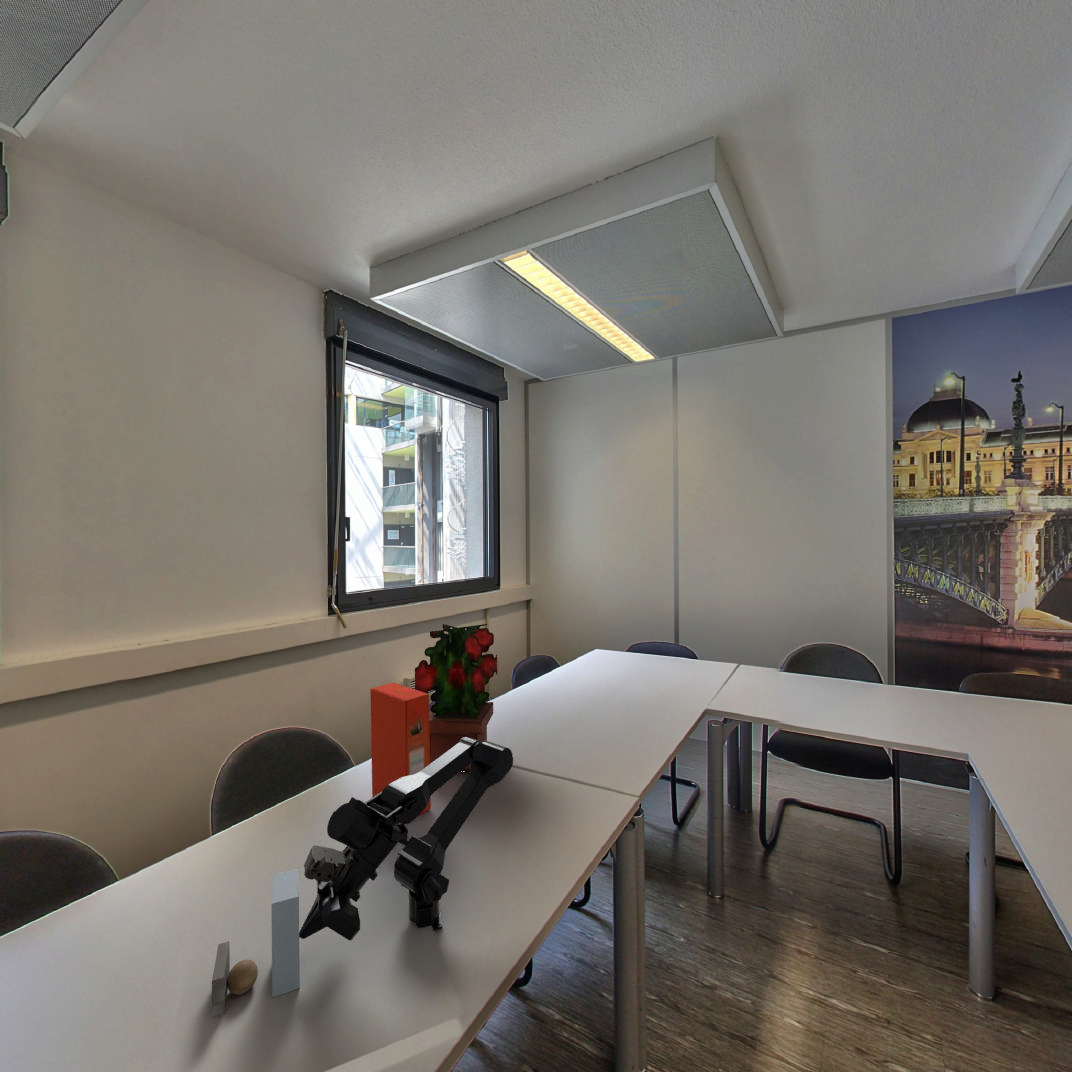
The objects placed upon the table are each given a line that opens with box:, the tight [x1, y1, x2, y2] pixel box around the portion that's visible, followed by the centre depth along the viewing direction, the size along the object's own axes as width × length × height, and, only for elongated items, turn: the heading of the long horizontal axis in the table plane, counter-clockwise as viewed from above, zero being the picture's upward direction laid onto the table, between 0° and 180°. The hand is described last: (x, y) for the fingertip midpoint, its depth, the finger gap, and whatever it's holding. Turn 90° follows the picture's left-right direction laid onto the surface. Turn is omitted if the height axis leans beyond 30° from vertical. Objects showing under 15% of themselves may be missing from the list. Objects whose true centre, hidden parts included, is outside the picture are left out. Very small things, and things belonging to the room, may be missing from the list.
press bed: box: [211, 940, 231, 1019], centre depth 88 cm, size 20×11×7 cm, turn 115°
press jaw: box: [271, 868, 301, 998], centre depth 88 cm, size 4×8×15 cm, turn 25°
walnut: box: [227, 959, 259, 996], centre depth 85 cm, size 4×4×4 cm
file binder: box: [370, 682, 432, 817], centre depth 147 cm, size 8×17×32 cm, turn 47°
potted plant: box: [414, 623, 498, 773], centre depth 173 cm, size 22×22×45 cm
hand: (300, 936), depth 89 cm, fingers closed
